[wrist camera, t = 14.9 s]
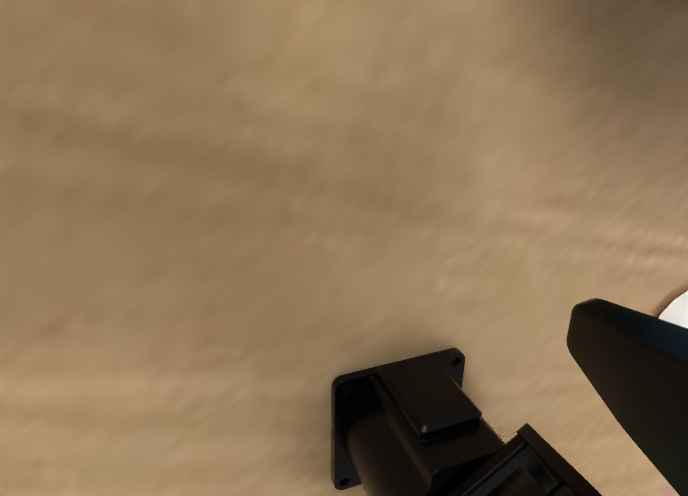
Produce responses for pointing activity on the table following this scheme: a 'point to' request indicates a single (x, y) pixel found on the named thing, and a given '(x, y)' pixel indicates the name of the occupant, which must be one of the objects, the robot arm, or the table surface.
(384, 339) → the table surface
